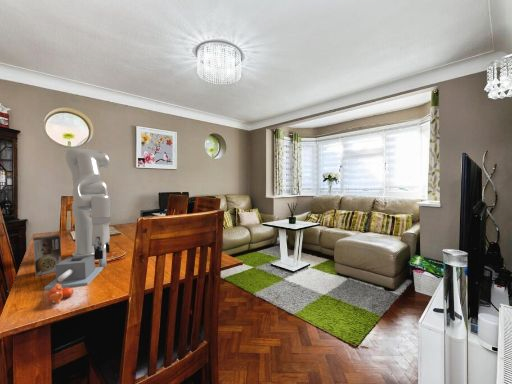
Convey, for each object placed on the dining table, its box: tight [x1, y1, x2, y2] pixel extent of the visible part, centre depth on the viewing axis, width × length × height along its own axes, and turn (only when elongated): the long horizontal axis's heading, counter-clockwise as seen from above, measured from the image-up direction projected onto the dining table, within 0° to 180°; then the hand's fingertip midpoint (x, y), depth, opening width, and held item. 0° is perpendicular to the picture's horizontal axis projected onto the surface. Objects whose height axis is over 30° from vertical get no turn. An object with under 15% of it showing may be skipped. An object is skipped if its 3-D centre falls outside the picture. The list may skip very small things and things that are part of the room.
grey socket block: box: [44, 255, 104, 291], centre depth 96 cm, size 22×14×8 cm, turn 17°
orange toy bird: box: [46, 284, 74, 305], centre depth 80 cm, size 5×8×12 cm
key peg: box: [98, 244, 107, 269], centre depth 111 cm, size 3×3×12 cm
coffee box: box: [32, 234, 63, 277], centre depth 105 cm, size 9×6×16 cm
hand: (102, 255), depth 111 cm, fingers open, 9 cm apart
